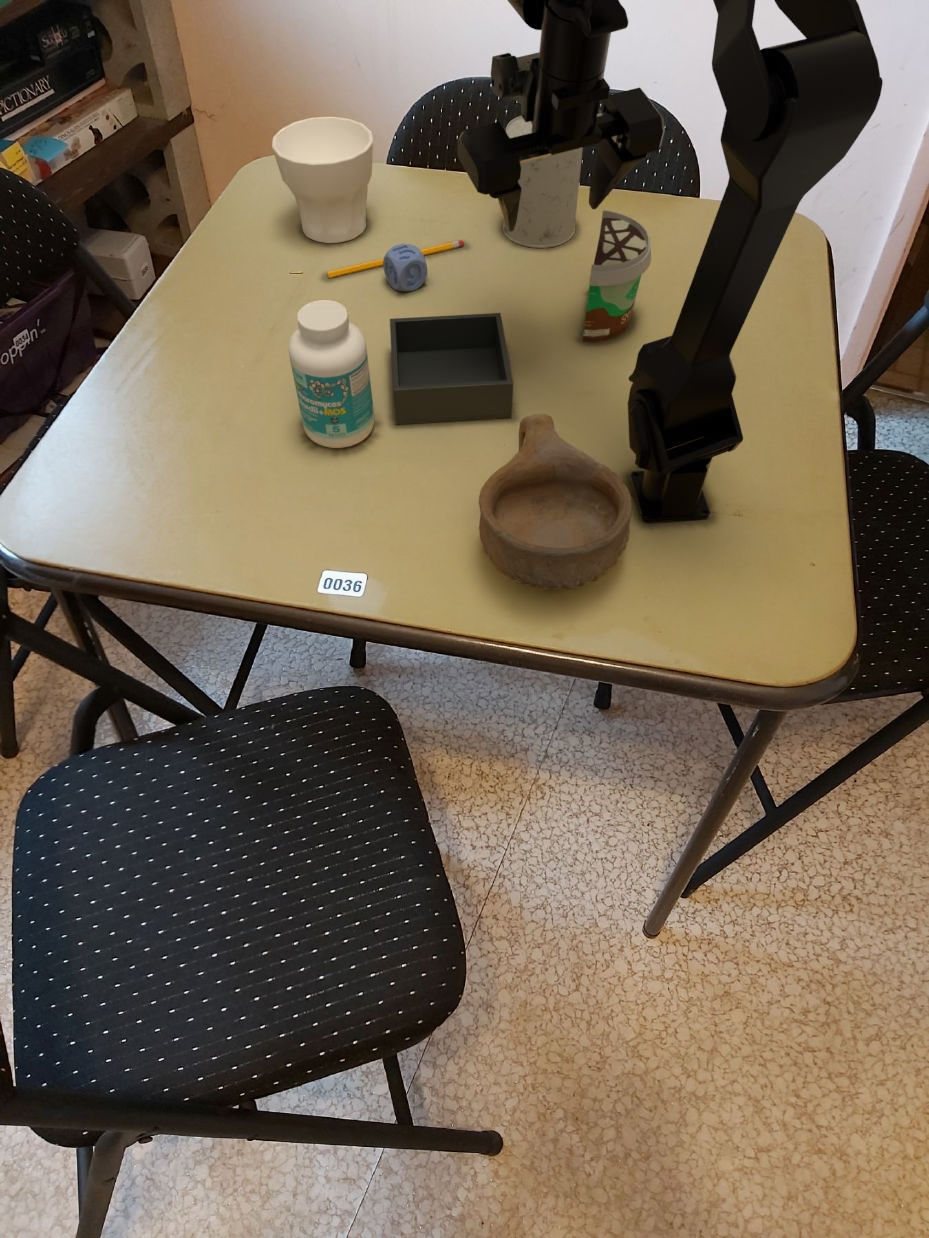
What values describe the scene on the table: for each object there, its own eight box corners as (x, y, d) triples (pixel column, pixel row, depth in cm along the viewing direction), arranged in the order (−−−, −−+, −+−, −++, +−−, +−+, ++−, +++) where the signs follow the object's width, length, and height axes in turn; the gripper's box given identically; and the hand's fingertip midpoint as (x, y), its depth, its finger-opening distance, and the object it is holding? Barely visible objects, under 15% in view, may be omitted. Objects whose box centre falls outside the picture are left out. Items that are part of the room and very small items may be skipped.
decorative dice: (411, 270, 105) (410, 240, 102) (428, 285, 103) (427, 255, 100) (384, 280, 104) (381, 249, 101) (400, 296, 102) (397, 265, 99)
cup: (279, 211, 114) (263, 124, 105) (368, 196, 116) (360, 110, 107) (296, 259, 107) (281, 170, 98) (391, 243, 109) (384, 154, 100)
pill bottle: (290, 437, 87) (264, 324, 76) (329, 396, 91) (310, 282, 80) (351, 460, 85) (333, 347, 74) (388, 417, 89) (377, 303, 78)
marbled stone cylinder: (494, 241, 109) (496, 142, 99) (513, 205, 114) (517, 108, 104) (566, 253, 107) (575, 153, 97) (581, 215, 113) (592, 117, 103)
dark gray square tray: (511, 418, 89) (513, 383, 85) (396, 424, 88) (393, 390, 84) (499, 347, 96) (500, 312, 92) (392, 353, 95) (389, 318, 92)
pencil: (464, 247, 108) (463, 242, 108) (329, 279, 104) (328, 274, 104) (461, 244, 109) (461, 239, 108) (327, 276, 105) (326, 271, 104)
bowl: (426, 483, 81) (452, 396, 74) (552, 479, 87) (587, 399, 79) (491, 623, 71) (527, 538, 64) (629, 608, 76) (676, 529, 69)
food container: (635, 355, 95) (650, 274, 87) (580, 349, 95) (591, 267, 87) (643, 293, 102) (658, 213, 94) (592, 288, 103) (603, 207, 94)
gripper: (629, -14, 76) (600, 146, 90) (435, 28, 72) (437, 187, 87) (686, 59, 71) (646, 215, 86) (483, 108, 68) (477, 261, 82)
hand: (551, 217), depth 85 cm, fingers open, 9 cm apart
